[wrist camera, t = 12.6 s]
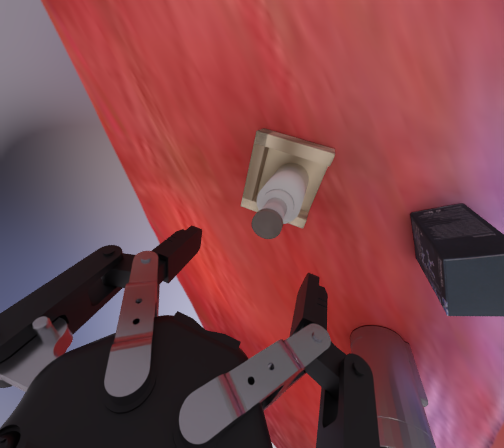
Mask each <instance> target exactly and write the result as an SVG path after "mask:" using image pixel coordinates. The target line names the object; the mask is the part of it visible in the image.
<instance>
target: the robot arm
mask: <svg viewBox="0 0 504 448" xmlns="http://www.w3.org/2000/svg"><path fill="white" fill-rule="evenodd" d="M201 237H202V229H200V228H197V227H195V226H190V227H189V228H188V229H187V230H183V229H182V230H180V231H177V232H175V233H174V234H173V235H171V237H169V238H167V240H165V241H164V242H162V243H161V244H160V245H159V246H157V247H156V248H155V249H153V250H152V251H143V252H140V253H138V254H137V255H131V254H124V253H122V249H121V248H120V247H119V246H115V245H108V246H104V247H102V248H100V249H98V250H97V251H95V252H93V253H92V254H90V255H89V256H87V257H86V258H84V259H83V260H81V261H80V262H78V263H77V264H75V265H74V266H72V267H71V268H69V269H68V270H66V271H64V272H63V273H61V274H60V275H58V276H57V277H55V278H54V279H52V280H51V281H49V282H48V283H46V284H45V285H43V286H42V287H40V288H39V289H37V290H35V291H34V292H32V293H31V294H29V295H28V296H26V297H25V298H24V299H22V300H20V301H19V302H17V303H16V304H14V305H13V306H11V307H10V308H8V309H7V310H5V311H3V312H2V313H0V388H6V387H10V386H15V387H17V388H19V389H21V390H23V391H25V392H26V393H25V394H24V396H23V398H22V400H21V401H20V403H19V404H18V406H17V407H16V409H15V410H14V411H13V413H12V414H11V416H10V417H9V418H8V419H7V421H6V422H5V423H4V424H3V425H2V427H1V428H0V448H273V447H272V443H271V439H270V435H269V431H268V427H267V423H266V419H265V415H264V412H263V411H264V410H265V409H266V408H267V407H269V406H270V405H271V404H272V403H273V402H274V401H276V400H277V399H278V398H279V397H280V396H281V395H282V394H283V393H284V392H285V391H286V390H287V389H288V388H290V387H291V386H292V385H293V384H294V383H295V382H297V381H298V380H299V379H300V378H301V377H303V376H304V375H305V374H306V373H307V374H308V375H310V376H311V377H312V378H313V379H314V380H315V381H316V382H317V383H318V384H319V385H320V386H321V387H322V389H321V400H320V411H319V421H318V432H317V443H316V448H436V446H435V443H434V439H433V436H432V433H431V430H430V426H429V423H428V420H427V417H426V413H425V410H424V407H425V406H427V405H428V400H427V397H426V393H425V390H424V387H423V384H422V381H421V378H420V375H419V372H418V369H417V366H416V363H415V360H414V357H413V354H412V351H411V348H410V345H409V344H408V343H406V342H404V341H403V340H402V338H401V337H400V336H399V335H398V334H397V333H395V332H393V331H392V330H389V329H387V328H383V327H379V326H364V327H360V328H358V329H356V330H354V331H353V332H352V334H351V337H350V340H351V352H352V354H348V355H346V354H345V353H343V352H342V351H341V350H340V349H338V348H337V347H336V346H335V345H334V344H333V343H332V342H331V339H330V336H329V334H328V332H327V298H328V295H327V292H326V290H325V288H324V287H322V286H319V277H318V276H315V275H313V274H310V273H308V274H307V275H306V277H305V279H304V281H303V283H302V285H301V287H300V289H299V292H298V295H297V300H296V305H295V310H294V316H293V321H292V327H291V332H290V337H289V338H288V339H286V340H284V341H283V340H282V339H281V340H279V341H277V342H275V343H274V344H272V345H271V346H269V347H267V348H266V349H264V350H263V351H261V352H259V353H258V354H256V355H255V356H253V357H252V358H250V359H248V357H247V356H246V354H245V353H244V352H243V351H242V350H241V349H240V348H239V345H240V341H238V340H236V339H234V338H232V337H230V336H228V335H225V334H222V333H217V332H211V331H207V330H205V329H204V328H203V327H201V326H200V325H199V324H198V323H197V322H196V321H195V320H194V319H192V318H191V317H188V316H186V315H184V314H182V313H180V312H178V311H177V313H176V314H175V315H174V316H169V315H164V316H158V307H159V284H160V283H161V282H162V281H164V282H166V283H169V282H170V281H171V280H172V279H173V278H174V277H175V276H176V275H177V274H178V273H179V272H180V271H181V270H182V268H183V267H184V266H185V265H186V264H187V263H188V262H189V261H190V260H191V259H192V258H193V257H194V256H195V255H196V254H197V252H198V251H199V249H200V246H201ZM122 288H125V291H124V296H123V301H122V306H121V311H120V316H119V321H118V325H117V330H116V333H114V334H111V335H109V336H106V337H104V338H101V339H99V340H96V341H94V342H91V343H89V344H86V345H84V346H81V347H79V348H76V349H74V350H71V351H69V352H67V353H65V352H66V349H67V348H68V347H69V346H70V344H71V342H72V340H73V334H74V333H75V332H76V331H77V330H78V329H79V328H80V327H81V326H82V325H84V324H85V323H86V322H87V321H88V320H89V319H90V318H91V317H92V316H93V315H94V314H95V313H96V312H97V311H98V310H99V309H101V308H102V307H103V306H104V305H105V304H106V303H107V302H108V301H109V300H110V299H111V298H112V297H113V296H115V295H116V294H117V293H118V292H119V291H120V290H121V289H122Z"/></svg>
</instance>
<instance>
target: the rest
mask: <svg viewBox="0 0 504 448" xmlns="http://www.w3.org/2000/svg"><path fill="white" fill-rule="evenodd" d="M334 156H335V149H333V148H330V147H326V146H323V145H319V144H316V143H312V142H309V141H306V140H302V139H299V138H295V137H292V136H289V135H285V134H282V133H278V132H275V131H271V130H268V129H265V128H264V129H261V130H258V131H256V136H255V141H254V145H253V150H252V155H251V160H250V164H249V169H248V174H247V179H246V183H245V188H244V193H243V197H242V202H241V206H242V207H245V208H247V209H250V210H253V211H256V212H258V211H259V210H258V207H257V196H258V193H259V192H260V190H261V189H262V188H263V187H264V185H265V184H266V183H267V182H268V181H269V179H270V178H271V177H272V176H273V175H274V174H275V172H276V171H277V170H278V169H279V168H280V167H281V166H282V165H284V164H287V163H297V164H299V165H301V166H303V167H304V168H305V170H306V171H307V173H308V176H309V183H308V187H307V190H306V193H305V196H304V200H303V203H302V206H301V209H300V212H299V214H298V216H297V217H296V218H295V219H294V220H293V221H291V222H289V224H292V225H294V226H297V227H300V228H303V227H304V225H305V223H306V220H307V216H308V212H309V209H310V207H311V205H312V202H313V200H314V198H315V195H316V193H317V191H318V188H319V186H320V184H321V181H322V179H323V176H324V174H325V172H326V169H327V167H328V166H330V165H331V163H332V160H333V158H334Z"/></svg>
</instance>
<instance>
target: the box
mask: <svg viewBox="0 0 504 448" xmlns="http://www.w3.org/2000/svg"><path fill="white" fill-rule="evenodd" d="M410 215H411V222H412V230H413V237H414V245H415V254H416V259H417V261H418V262H419V264H420V266H421V268H422V270H423V272H424V273H425V275H426V277H427V279H428V281H429V282H430V284H431V286H432V288H433V290H434V292H435V293H436V295H437V297H438V299H439V301H440V303H441V305H442V306H443V308H444V310H445V312H446V314H447V315H448V316H504V234H502V233H501V232H500V231H498V230H497V229H496V228H495V227H493V226H492V225H491V224H489V223H488V222H487V221H486V220H484V219H483V218H482V217H480V216H479V215H478V214H476V213H475V212H474V211H473V210H471V209H470V208H469V207H467V206H466V205H465V204H457V205H451V206H445V207H440V208H434V209H429V210H423V211H418V212H412V213H411V214H410Z"/></svg>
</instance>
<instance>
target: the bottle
mask: <svg viewBox="0 0 504 448" xmlns="http://www.w3.org/2000/svg"><path fill="white" fill-rule="evenodd" d="M308 183H309V176H308V173H307V171H306V170H305V168H304V167H303V166H301V165H299V164H297V163H287V164H284V165H282V166H281V167H280V168H279V169H278V170H277V171H276V172H275V174H274V175H273V176H272V177H271V178H270V179H269V181H268V182H267V183H266V184H265V185H264V187H263V188H262V189H261V190H260V192H259V193H258V196H257V207H258V210H259V211H258V212H257V213H256V214H255V216H254V217H253V219H252V228H253V230H254V232H255V233H256V234H257V235H258V236H260V237H262V238H265V239H273V238H275V237H277V236H278V235H279V234H280V232H281V229H282V227H283V224H286V223H289V222H291V221H293V220H294V219H295V218H296V217H297V216H298V214H299V212H300V209H301V206H302V203H303V200H304V196H305V193H306V190H307V187H308Z"/></svg>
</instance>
